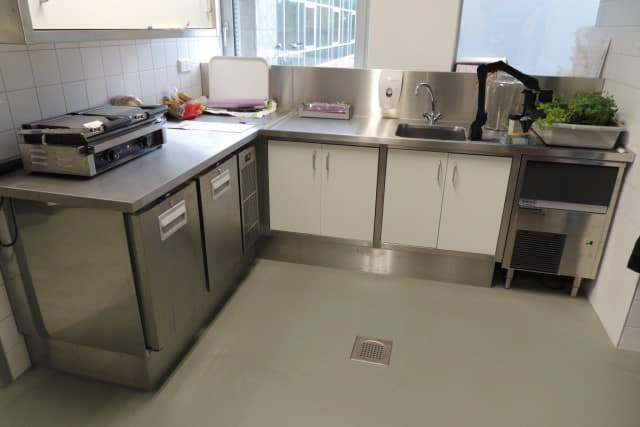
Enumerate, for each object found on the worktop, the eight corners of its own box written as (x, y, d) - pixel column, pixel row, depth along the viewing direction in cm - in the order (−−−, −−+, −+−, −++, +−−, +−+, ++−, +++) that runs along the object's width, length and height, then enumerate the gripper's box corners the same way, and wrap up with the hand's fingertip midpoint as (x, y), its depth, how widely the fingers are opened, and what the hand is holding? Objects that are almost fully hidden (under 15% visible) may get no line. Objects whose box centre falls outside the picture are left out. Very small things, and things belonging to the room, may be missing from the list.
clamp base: (507, 146, 239) (509, 136, 237) (497, 141, 249) (498, 131, 247) (536, 145, 241) (538, 135, 239) (525, 141, 251) (527, 130, 249)
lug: (528, 145, 241) (530, 136, 239) (526, 144, 243) (527, 135, 241) (532, 145, 241) (534, 136, 239) (529, 144, 244) (531, 135, 242)
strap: (505, 137, 241) (506, 135, 241) (503, 136, 244) (503, 134, 243) (530, 134, 242) (530, 132, 242) (527, 133, 245) (527, 131, 245)
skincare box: (511, 137, 259) (515, 115, 254) (506, 135, 263) (510, 114, 258) (521, 136, 260) (525, 115, 256) (516, 135, 264) (520, 113, 260)
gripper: (520, 105, 229) (516, 137, 235) (555, 104, 231) (550, 134, 237) (509, 102, 239) (505, 132, 245) (543, 100, 241) (538, 130, 247)
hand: (525, 132), depth 243 cm, fingers closed, pressing on strap
